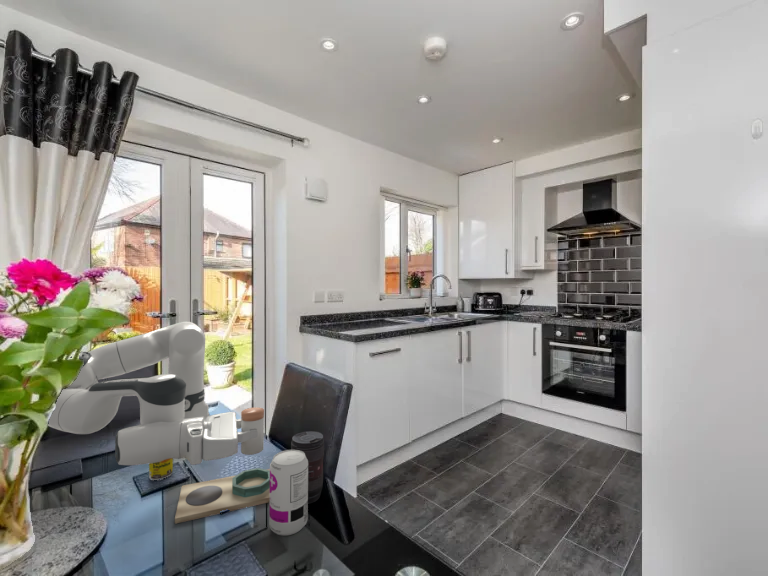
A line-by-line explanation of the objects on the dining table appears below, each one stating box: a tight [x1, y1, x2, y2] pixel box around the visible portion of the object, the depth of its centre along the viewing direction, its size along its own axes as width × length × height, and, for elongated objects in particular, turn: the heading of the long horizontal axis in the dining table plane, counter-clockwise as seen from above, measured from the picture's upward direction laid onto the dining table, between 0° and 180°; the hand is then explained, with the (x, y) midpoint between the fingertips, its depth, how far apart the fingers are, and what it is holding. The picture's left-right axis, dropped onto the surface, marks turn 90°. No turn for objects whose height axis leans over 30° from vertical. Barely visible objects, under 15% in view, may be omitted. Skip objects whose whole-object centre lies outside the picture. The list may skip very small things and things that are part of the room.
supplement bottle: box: [148, 458, 174, 481], centre depth 98 cm, size 6×6×10 cm
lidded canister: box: [240, 406, 265, 456], centre depth 91 cm, size 6×6×10 cm
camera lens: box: [290, 430, 325, 504], centre depth 89 cm, size 8×8×15 cm
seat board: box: [174, 467, 270, 525], centre depth 89 cm, size 14×22×3 cm, turn 114°
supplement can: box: [268, 449, 309, 536], centre depth 79 cm, size 8×8×15 cm
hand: (256, 427), depth 92 cm, fingers closed on lidded canister, 5 cm apart
